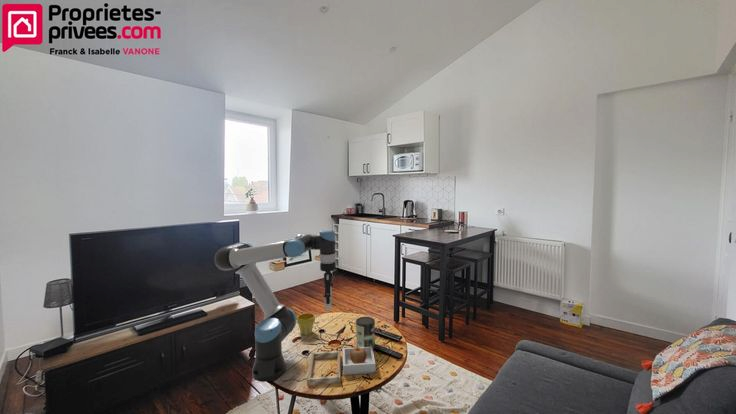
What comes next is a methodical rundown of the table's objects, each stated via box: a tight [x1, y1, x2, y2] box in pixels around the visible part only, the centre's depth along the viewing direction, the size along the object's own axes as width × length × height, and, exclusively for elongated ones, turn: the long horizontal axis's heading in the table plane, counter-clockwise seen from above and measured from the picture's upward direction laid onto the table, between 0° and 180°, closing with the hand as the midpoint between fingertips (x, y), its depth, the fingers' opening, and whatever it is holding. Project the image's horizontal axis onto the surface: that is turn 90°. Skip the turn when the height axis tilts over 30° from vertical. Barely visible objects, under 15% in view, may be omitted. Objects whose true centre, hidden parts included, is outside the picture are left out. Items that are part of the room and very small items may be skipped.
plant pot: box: [296, 312, 316, 336], centre depth 177 cm, size 10×10×10 cm
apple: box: [350, 346, 367, 364], centre depth 144 cm, size 8×8×8 cm
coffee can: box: [355, 316, 376, 350], centre depth 161 cm, size 10×10×14 cm
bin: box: [342, 346, 377, 376], centre depth 144 cm, size 15×15×4 cm
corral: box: [306, 350, 341, 386], centre depth 141 cm, size 14×21×2 cm
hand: (328, 304), depth 146 cm, fingers open, 13 cm apart
